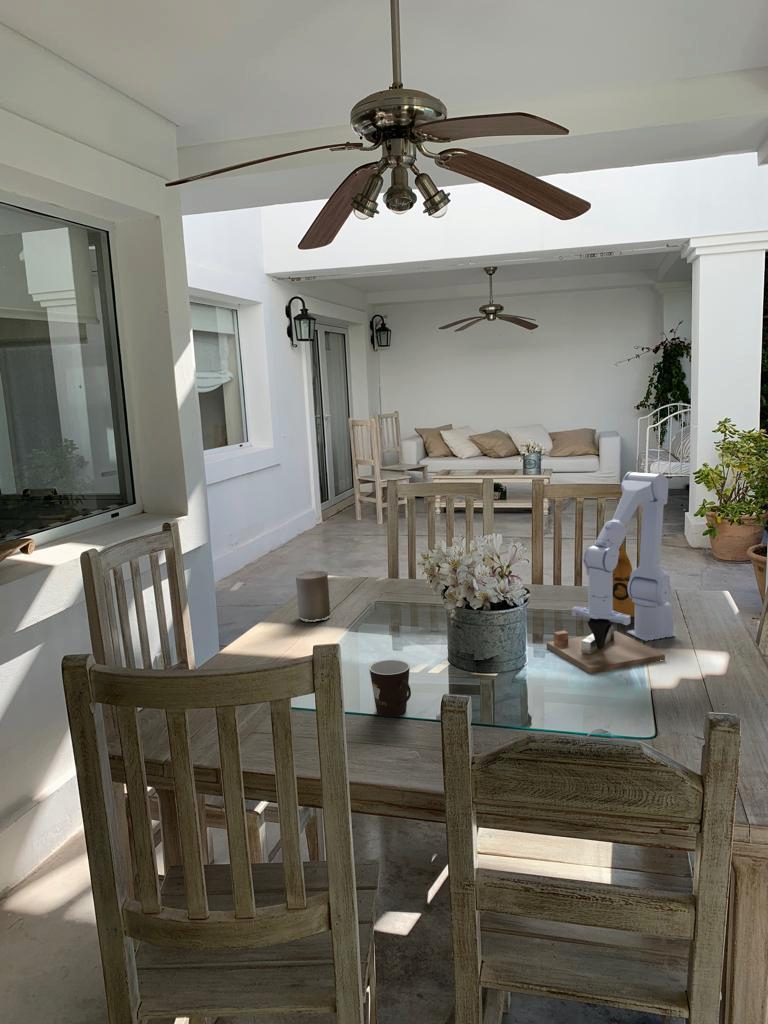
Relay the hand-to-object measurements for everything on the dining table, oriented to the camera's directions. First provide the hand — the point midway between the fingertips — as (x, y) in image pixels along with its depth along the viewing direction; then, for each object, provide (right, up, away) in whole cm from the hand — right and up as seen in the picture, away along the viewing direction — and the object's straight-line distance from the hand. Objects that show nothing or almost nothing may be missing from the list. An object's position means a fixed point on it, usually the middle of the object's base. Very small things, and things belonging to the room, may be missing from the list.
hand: (600, 647), depth 195 cm
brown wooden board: (+2, -2, +3) cm, 4 cm away
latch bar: (+1, 0, +4) cm, 4 cm away
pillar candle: (-75, +1, +44) cm, 87 cm away
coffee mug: (-52, -10, -27) cm, 59 cm away
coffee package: (+15, +4, +36) cm, 40 cm away
